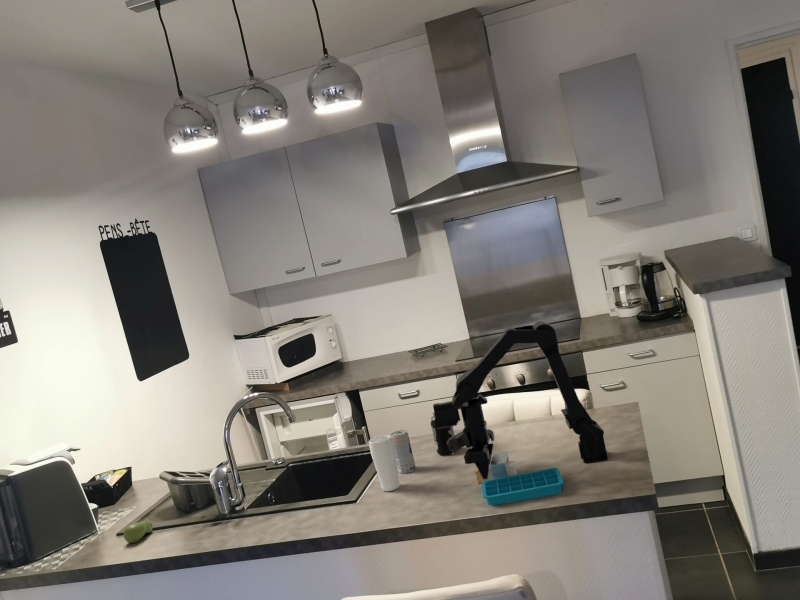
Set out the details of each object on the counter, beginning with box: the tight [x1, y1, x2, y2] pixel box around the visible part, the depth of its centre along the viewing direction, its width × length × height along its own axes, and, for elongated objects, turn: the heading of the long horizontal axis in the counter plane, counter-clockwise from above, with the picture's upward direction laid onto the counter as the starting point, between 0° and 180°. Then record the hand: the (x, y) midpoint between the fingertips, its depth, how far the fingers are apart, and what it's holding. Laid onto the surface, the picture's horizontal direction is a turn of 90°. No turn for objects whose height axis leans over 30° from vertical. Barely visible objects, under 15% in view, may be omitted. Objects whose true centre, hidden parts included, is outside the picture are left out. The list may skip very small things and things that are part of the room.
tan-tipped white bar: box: [474, 460, 518, 484], centre depth 193 cm, size 10×4×4 cm, turn 77°
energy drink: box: [390, 429, 416, 475], centre depth 216 cm, size 5×5×12 cm
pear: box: [123, 520, 154, 544], centre depth 211 cm, size 6×5×10 cm
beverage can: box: [430, 415, 455, 457], centre depth 224 cm, size 7×7×12 cm
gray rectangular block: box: [490, 450, 511, 479], centre depth 193 cm, size 4×9×6 cm, turn 167°
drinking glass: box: [368, 434, 401, 492], centre depth 203 cm, size 7×7×15 cm
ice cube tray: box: [481, 467, 564, 506], centre depth 180 cm, size 12×20×3 cm, turn 85°
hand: (486, 475), depth 194 cm, fingers closed on tan-tipped white bar, 4 cm apart
